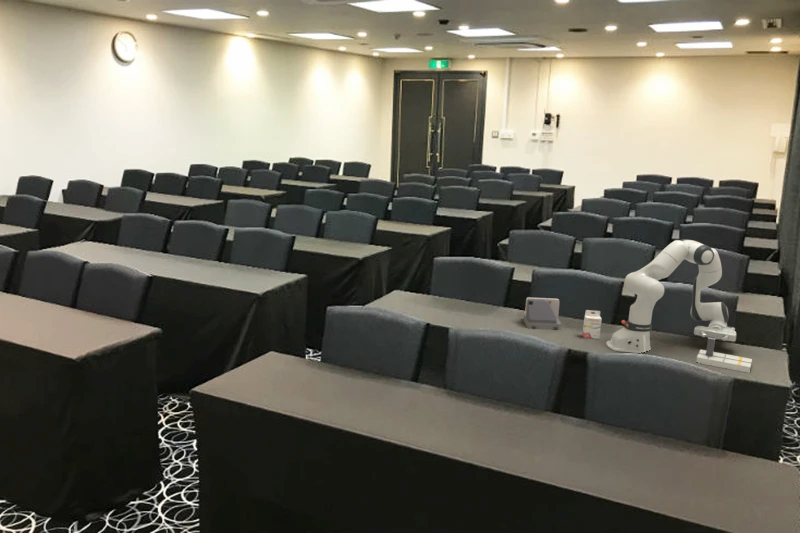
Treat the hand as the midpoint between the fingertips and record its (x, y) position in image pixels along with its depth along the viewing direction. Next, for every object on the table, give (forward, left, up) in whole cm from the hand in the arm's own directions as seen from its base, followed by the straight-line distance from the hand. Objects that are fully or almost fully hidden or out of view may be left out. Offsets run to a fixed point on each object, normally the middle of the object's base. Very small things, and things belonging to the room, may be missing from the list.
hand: (713, 337), depth 356 cm
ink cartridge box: (-57, +21, -9) cm, 61 cm away
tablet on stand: (-80, +41, -10) cm, 90 cm away
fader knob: (-6, -10, -8) cm, 14 cm away
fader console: (0, -14, -9) cm, 17 cm away
